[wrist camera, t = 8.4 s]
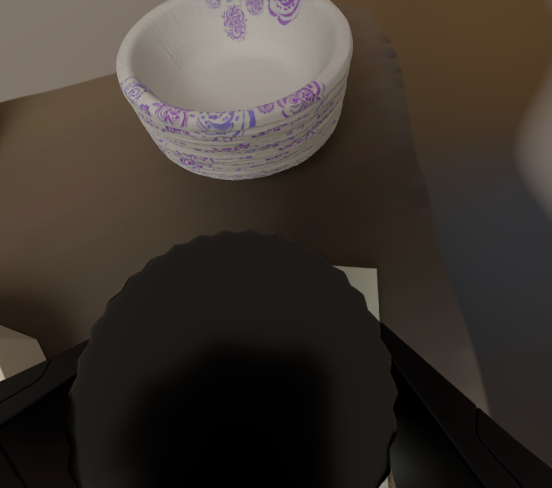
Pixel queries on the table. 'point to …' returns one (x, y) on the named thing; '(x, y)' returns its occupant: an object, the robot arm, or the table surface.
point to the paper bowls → (237, 81)
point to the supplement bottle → (234, 375)
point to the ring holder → (17, 352)
